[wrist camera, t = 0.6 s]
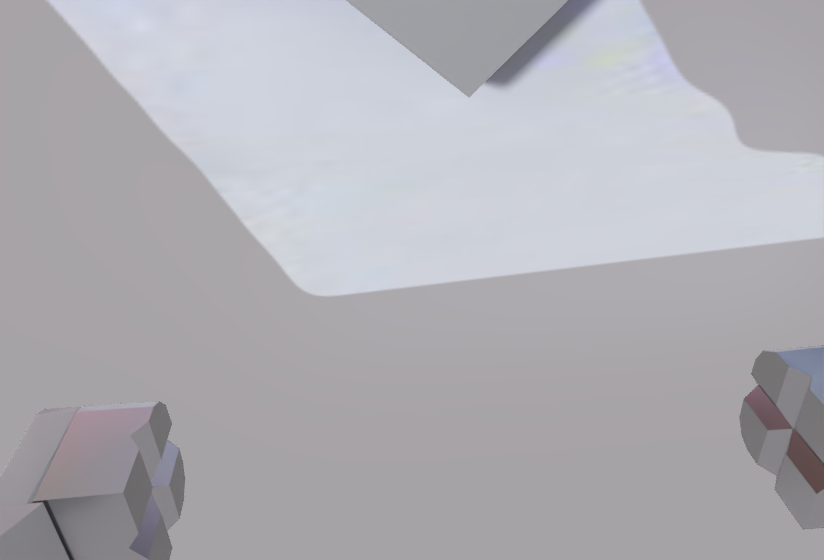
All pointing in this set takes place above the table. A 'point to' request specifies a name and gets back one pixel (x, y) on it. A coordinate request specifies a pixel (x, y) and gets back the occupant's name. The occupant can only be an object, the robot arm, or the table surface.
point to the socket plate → (461, 32)
